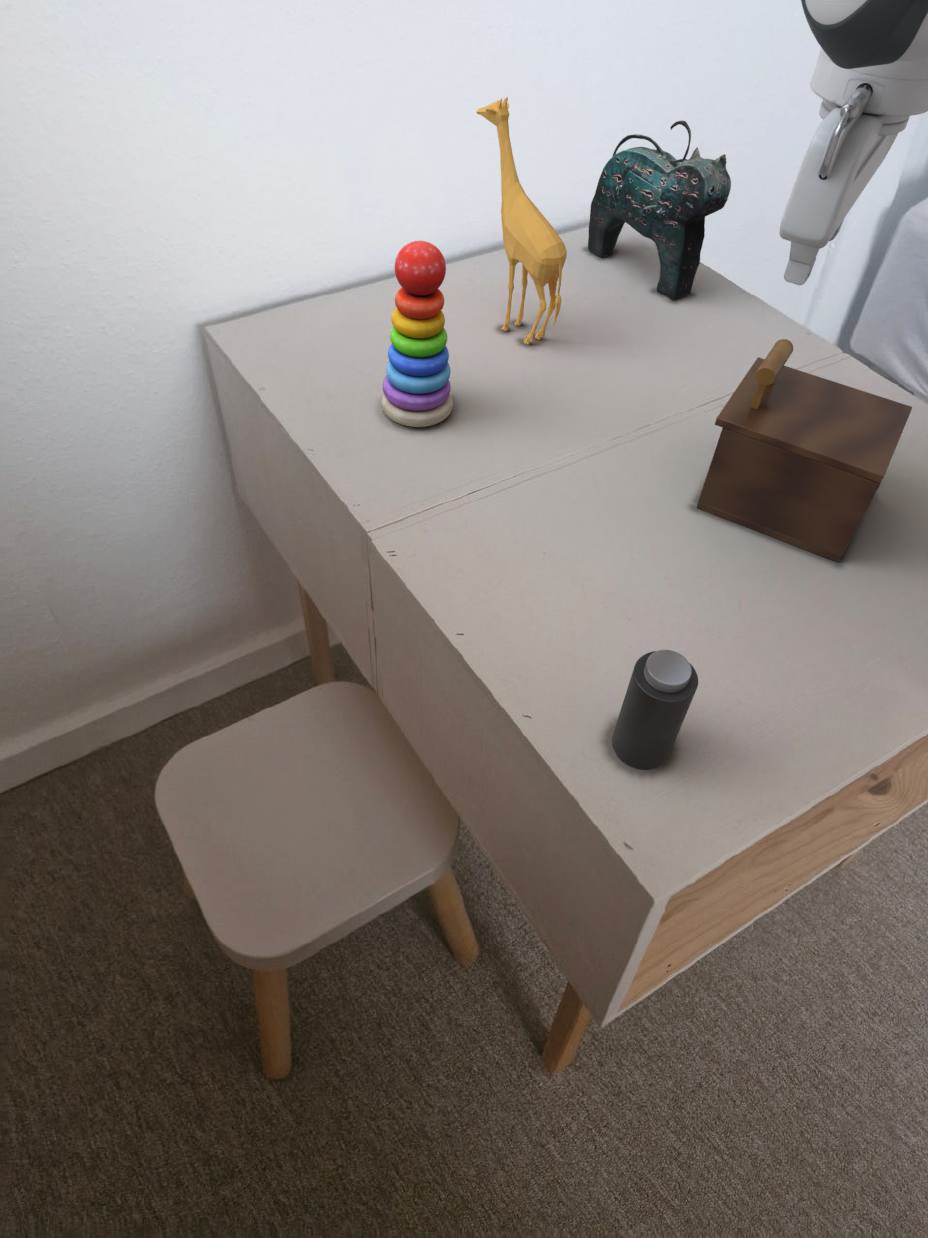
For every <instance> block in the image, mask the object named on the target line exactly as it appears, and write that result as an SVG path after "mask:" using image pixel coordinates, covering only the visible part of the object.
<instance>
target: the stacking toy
mask: <svg viewBox="0 0 928 1238" xmlns="http://www.w3.org/2000/svg"><path fill="white" fill-rule="evenodd" d="M446 273H447V265H446V259H445V257H444V255H443V253H442V252H441V250H440V249H439V248H438V247H437V246H436V245H434V244H433V243H432V242H429V241H426V240H414V241H411V242H408V243H407V244H405V245H404V246H402V247H401V249H400V250H399V252H398V253H397V254H396V257H395V261H394V274H395V278H396V280H397V282H398V285H400V288H399V289H398V290H397V291H396V293H395V297H394V305H395V308H394V310H393V311H392V314H391V324H392V328H391V330H390V335H389V337H390V342H391V343H390V345H389V347H388V350H387V358H388V362H387V364H386V368H385V376H384V378H383V382H382V392H383V394H382V395H381V402H380V403H381V408H382V411H383V412H384V414H385V415H386V416H387V417H388V419H390V420H391V421H393V422H394V423H397V424H399V425H402V426H406V427H412V428H424V427H430V426H434V425H438V424H440V423H441V422H443V421H444V420H445V419H446V418H448V416H449V415H451V412H452V411H453V408H454V407H453V406H454V399H453V396H452V394H451V389H452V388H451V387H452V386H451V382H450V377H451V373H452V372H451V365H450V364H449V358H450V352H449V349H448V346H447V343H448V333H447V330H446V329H445V323H446V318H445V314H444V313H443V311H442V310H443V309H444V307H445V306H444V305H445V297H444V294H443V292H442V291H441V290H440V289H439V288H440V287H441V286H442V285H443V283H444V281H445V277H446Z"/></svg>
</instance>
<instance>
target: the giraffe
mask: <svg viewBox="0 0 928 1238" xmlns="http://www.w3.org/2000/svg"><path fill="white" fill-rule="evenodd" d="M508 101H509V98H508V96H506V97H505V98H504V99H503V98H502V97H501V98H500V99H498V100H496V101H493V102H491V103H489V104H487V105H486V106H483V107H480V108H477V110H476V111H475V113H476V114H477V115H480V116H481V117H483V118H484V119H486V120H487V121H488V122H490V123H491V124H492V125H494V126H495V127H496V132H497V138H498V145H499V157H500V158H499V159H500V186H501V187H500V191H501V193H500V194H501V204H500V205H501V206H500V216H501V217H500V219H501V231H502V243H503V248H504V251H505V254H506V257H507V260H508V285H507V289H508V295H507V306H506V308H507V309H506V314H505V318H504V322H503V326H502V327H501V330H502V331H503V332H508V331H509V326H510V324H511V311H512V300H513V292H514V289H515V285H514V284H515V283H514V281H515V274H516V273H515V272H516V265H518V263H521V265H522V267H521V268H522V270H521V286H522V287H521V288H522V289H521V290H522V291H521V299H520V306H519V310H518V315H517V319H516V321H515V322H514V326H516V327H520V326H521V325H522V321H523V319H524V308H525V299H526V293H527V287H528V282H529V281H528V275H529V277H530V278H531V279H532V281H533V284H534V287H535V290H536V293H537V296H538V299H539V308H538V310H537V314H536V318H535V321H534V323H533V326H532V328H531V330H530V332H529V333H528V334H527V335H526V337H524V340H523V344H525V345H528V346H529V345H531V342H534V338H535V340H538V341H541V338H543V337H545V335H546V329H547V326H548V324H549V321H550V318H551V316H552V314H553V313H554V321H553V327H556V322H557V319H558V316H559V313H560V311H561V305H562V298H561V294H560V292H561V285H562V275H563V268H564V266H565V263H566V260H567V255H568V253H567V252H568V251H567V248H566V245H565V242H564V241H563V239H562V238H561V236H560V235H559V233H558V232H557V231H556V230H555V227H554V226H553V225H552V224H551V223H550V222H549V220H548V219H547V218H546V216H545V215H543V213H542V212H541V211H540V209H539V208H538V207H537V205H535V203H534V202H533V201H532V199H530V197H529V196H528V195H527V194H526V192H525V190H524V188H523V186H522V185H521V182H520V179H519V175H518V172H517V169H516V168H517V167H516V163H515V158H514V154H513V149H512V142H511V138H510V125H509V118H510V112H509V108H510V103H509V102H508ZM557 284H558V285H557ZM546 285H548V291H549V292H548V293H549V299H550V300H549V304H548V305H549V306H548V310H547V302H546V296H545V286H546ZM557 286H558V287H557ZM546 310H547V314H546V316H545V319H544V321H543V324H542V326H541V328H539V329H538V331H537V333H536V330H537V328H538V325H539V323H540V320H541V319H542V317H543V315H544V313H545V312H546ZM554 310H555V311H554Z"/></svg>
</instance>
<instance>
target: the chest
mask: <svg viewBox="0 0 928 1238" xmlns="http://www.w3.org/2000/svg"><path fill="white" fill-rule="evenodd" d="M715 446H716V447H715V449H714V451H713V452H714V453H713V456H712V458H711V461H710V465H709V468H708V469H707V470H708V471H707V474H706V477H705V480H704V483H703V486H702V490H701V492H700V495H699V498H698V501H697V504H696V509H699V510H702V511H704V512H707V513H709V514H712V515H715V516H717V517H719V518H722V519H724V520H727V521H730V522H733V523H736V524H738V525H740V526H743V527H745V528H748V529H751V530H753V531H756V532H758V533H761V534H764V535H766V536H769V537H772V538H774V539H777V540H779V541H782V542H783V543H787V544H789V545H792V546H794V547H797V548H800V549H802V550H804V551H808V552H810V553H813V554H815V555H818V556H820V557H823V558H825V559H828V560H830V561H833V562H835V563H840V561H841V559H842V558H843V556H844V553H845V552H846V550H847V548H848V546H849V544H850V543H851V540H852V538H853V536H854V535H855V533H856V531H857V529H858V527H859V525H860V523H861V521H862V519H863V518H864V516H865V514H866V512H867V510H868V508H869V506H870V504H871V503H872V500H873V499H874V497H875V495H876V493H877V492H878V489H879V487H880V486H881V484H882V482H881V483H878V482H875V481H873V480H870V479H867V478H864V477H861V476H858V475H856V474H853V473H850V472H847V471H844V470H841V469H839V468H836V467H833V466H830V465H827V464H824V463H822V462H819V461H816V460H813V459H810V458H807V457H805V456H802V455H799V454H796V453H793V452H790V451H788V450H785V449H782V448H779V447H776V446H774V445H771V444H768V443H765V442H762V441H759V440H757V439H754V438H751V437H748V436H745V435H742V434H740V433H737V432H734V431H731V430H728V429H725V428H723V427H721V431H720V434H719V437H718V440H717V443H716V445H715Z"/></svg>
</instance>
